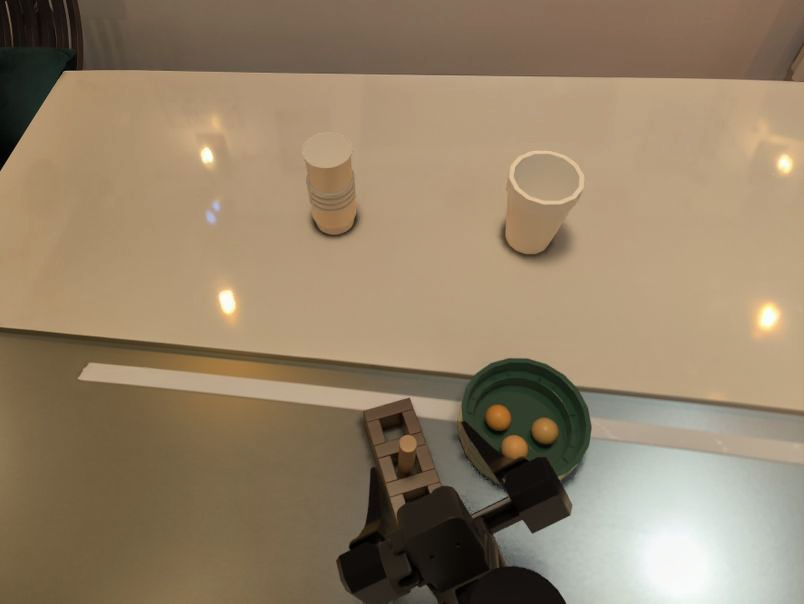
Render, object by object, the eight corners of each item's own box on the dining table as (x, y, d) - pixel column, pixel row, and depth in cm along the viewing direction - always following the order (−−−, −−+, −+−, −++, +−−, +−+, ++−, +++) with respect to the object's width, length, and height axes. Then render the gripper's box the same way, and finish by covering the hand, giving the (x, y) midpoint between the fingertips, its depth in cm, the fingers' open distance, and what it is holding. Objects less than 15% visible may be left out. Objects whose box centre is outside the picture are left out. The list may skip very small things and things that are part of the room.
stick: (415, 478, 70) (419, 449, 61) (400, 483, 70) (402, 454, 61) (410, 463, 71) (413, 432, 62) (395, 467, 71) (396, 437, 62)
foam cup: (538, 274, 85) (560, 216, 74) (482, 241, 89) (495, 182, 78) (572, 231, 89) (597, 170, 78) (516, 202, 93) (533, 140, 82)
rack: (451, 530, 67) (454, 522, 64) (401, 545, 66) (402, 538, 63) (408, 409, 75) (409, 397, 72) (363, 422, 74) (362, 410, 71)
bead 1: (513, 430, 72) (517, 421, 70) (489, 437, 72) (493, 428, 69) (502, 407, 74) (506, 397, 71) (479, 413, 74) (482, 404, 71)
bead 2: (529, 461, 70) (535, 453, 67) (505, 468, 70) (509, 461, 67) (518, 436, 72) (523, 428, 69) (494, 443, 71) (498, 435, 69)
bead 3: (559, 443, 71) (566, 435, 68) (536, 451, 71) (541, 442, 68) (548, 419, 73) (553, 410, 70) (524, 426, 72) (529, 417, 70)
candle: (363, 207, 94) (359, 136, 82) (348, 241, 90) (342, 173, 78) (322, 197, 96) (312, 126, 83) (306, 231, 92) (293, 162, 80)
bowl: (602, 471, 69) (615, 458, 65) (485, 507, 68) (492, 497, 64) (545, 362, 77) (554, 344, 73) (440, 392, 76) (443, 376, 72)
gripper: (593, 532, 37) (485, 349, 49) (327, 659, 39) (286, 453, 51) (620, 587, 44) (519, 415, 56) (393, 692, 46) (344, 504, 58)
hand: (418, 446), depth 55 cm, fingers open, 9 cm apart
